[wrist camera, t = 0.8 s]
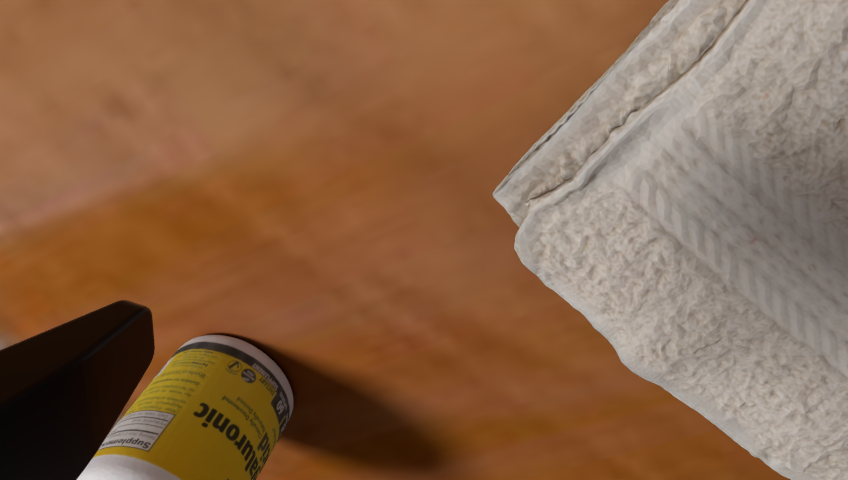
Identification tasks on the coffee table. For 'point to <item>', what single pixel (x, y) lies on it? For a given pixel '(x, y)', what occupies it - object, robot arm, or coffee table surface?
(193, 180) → the coffee table surface
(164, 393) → the supplement bottle
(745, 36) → the washcloth
